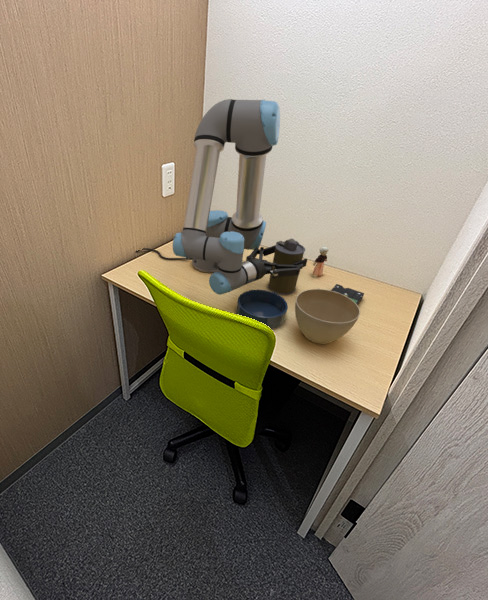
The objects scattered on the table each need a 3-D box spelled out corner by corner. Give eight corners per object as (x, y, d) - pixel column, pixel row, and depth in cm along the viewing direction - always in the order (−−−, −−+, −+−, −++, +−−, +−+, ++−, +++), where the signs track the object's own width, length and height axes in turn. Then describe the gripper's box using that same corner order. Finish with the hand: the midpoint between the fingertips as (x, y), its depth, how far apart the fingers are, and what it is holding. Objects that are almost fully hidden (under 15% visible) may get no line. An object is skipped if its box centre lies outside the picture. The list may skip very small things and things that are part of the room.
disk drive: (333, 289, 130) (320, 306, 121) (335, 283, 129) (322, 299, 119) (362, 299, 125) (350, 317, 115) (364, 292, 123) (352, 310, 114)
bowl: (229, 320, 114) (230, 308, 111) (244, 296, 126) (246, 285, 123) (278, 335, 107) (281, 323, 104) (289, 308, 119) (292, 297, 117)
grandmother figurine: (316, 279, 136) (324, 251, 129) (308, 276, 138) (315, 248, 131) (326, 273, 140) (334, 245, 133) (317, 270, 143) (325, 242, 135)
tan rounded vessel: (357, 335, 107) (369, 304, 101) (332, 364, 97) (344, 331, 90) (305, 311, 118) (313, 282, 111) (277, 335, 107) (284, 304, 101)
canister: (301, 290, 130) (313, 242, 118) (282, 298, 125) (293, 249, 114) (279, 278, 137) (289, 232, 126) (261, 285, 132) (269, 238, 121)
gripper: (223, 266, 125) (263, 251, 135) (275, 297, 108) (316, 277, 118) (225, 248, 120) (266, 234, 130) (280, 277, 103) (322, 258, 114)
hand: (290, 255), depth 124 cm, fingers open, 13 cm apart
